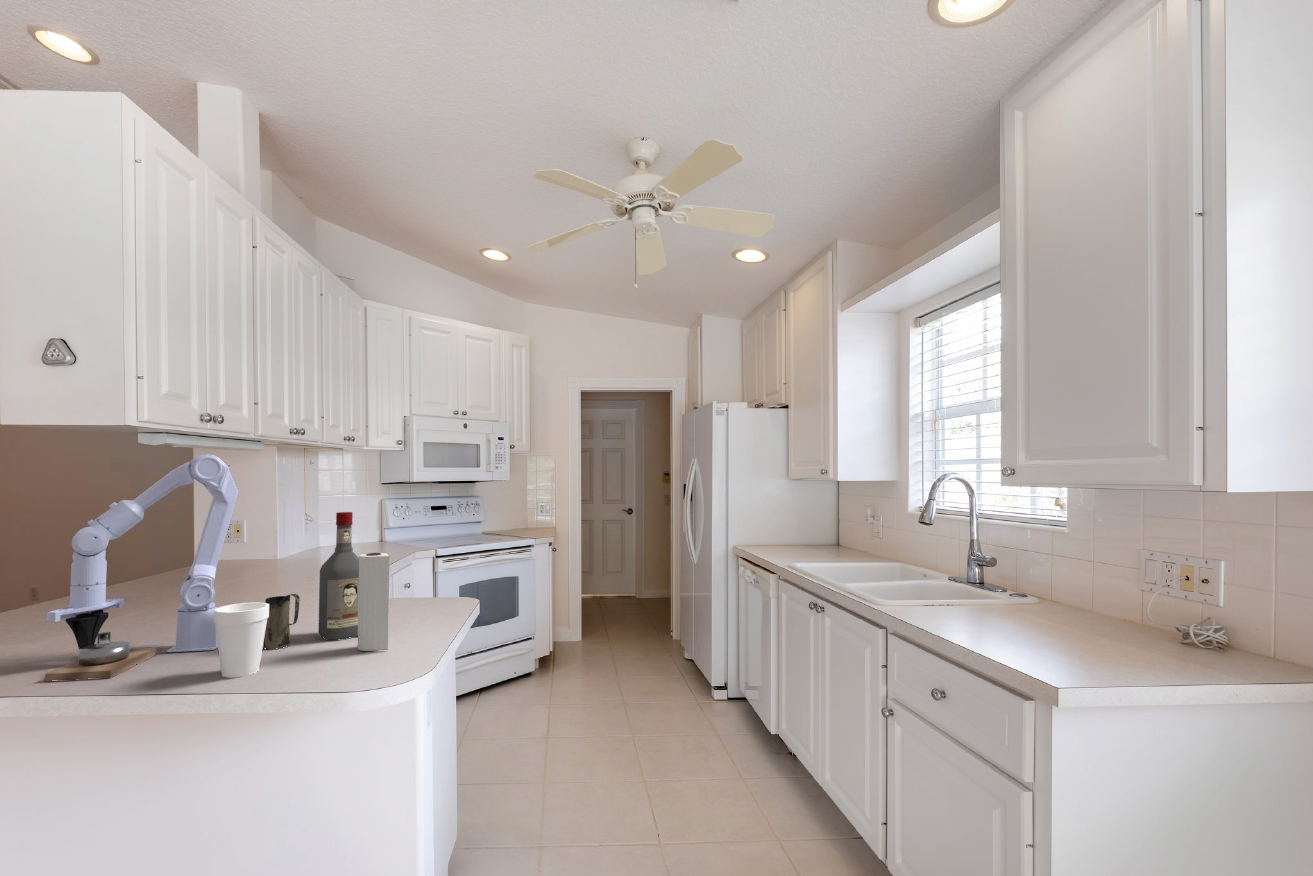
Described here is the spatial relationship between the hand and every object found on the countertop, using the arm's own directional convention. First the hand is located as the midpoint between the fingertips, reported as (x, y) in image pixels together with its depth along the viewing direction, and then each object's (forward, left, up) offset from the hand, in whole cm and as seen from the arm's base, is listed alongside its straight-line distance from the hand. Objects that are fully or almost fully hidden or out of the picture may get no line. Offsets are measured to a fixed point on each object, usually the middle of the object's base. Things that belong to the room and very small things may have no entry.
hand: (86, 649), depth 138 cm
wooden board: (-6, +4, -3) cm, 8 cm away
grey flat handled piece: (-4, +1, -1) cm, 4 cm away
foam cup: (-35, +13, -3) cm, 37 cm away
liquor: (-47, -14, -3) cm, 49 cm away
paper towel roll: (-57, 0, -3) cm, 57 cm away
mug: (-36, -6, -3) cm, 36 cm away
